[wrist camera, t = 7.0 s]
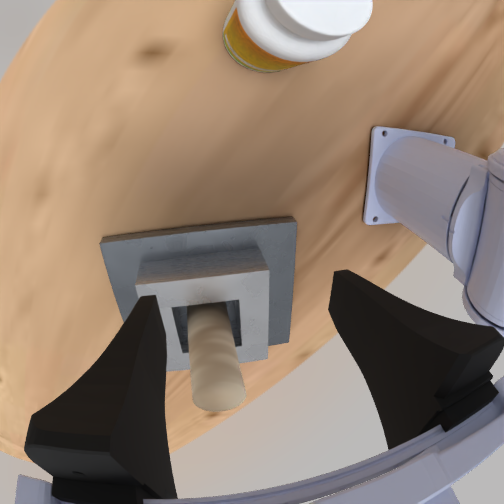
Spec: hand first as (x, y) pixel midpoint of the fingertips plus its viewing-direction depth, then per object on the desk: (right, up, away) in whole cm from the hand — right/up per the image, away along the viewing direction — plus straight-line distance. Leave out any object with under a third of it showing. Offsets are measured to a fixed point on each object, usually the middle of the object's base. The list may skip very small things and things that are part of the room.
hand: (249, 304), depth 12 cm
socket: (-4, -1, +12) cm, 13 cm away
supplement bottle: (+1, +16, +4) cm, 16 cm away
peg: (-3, -2, +11) cm, 12 cm away
